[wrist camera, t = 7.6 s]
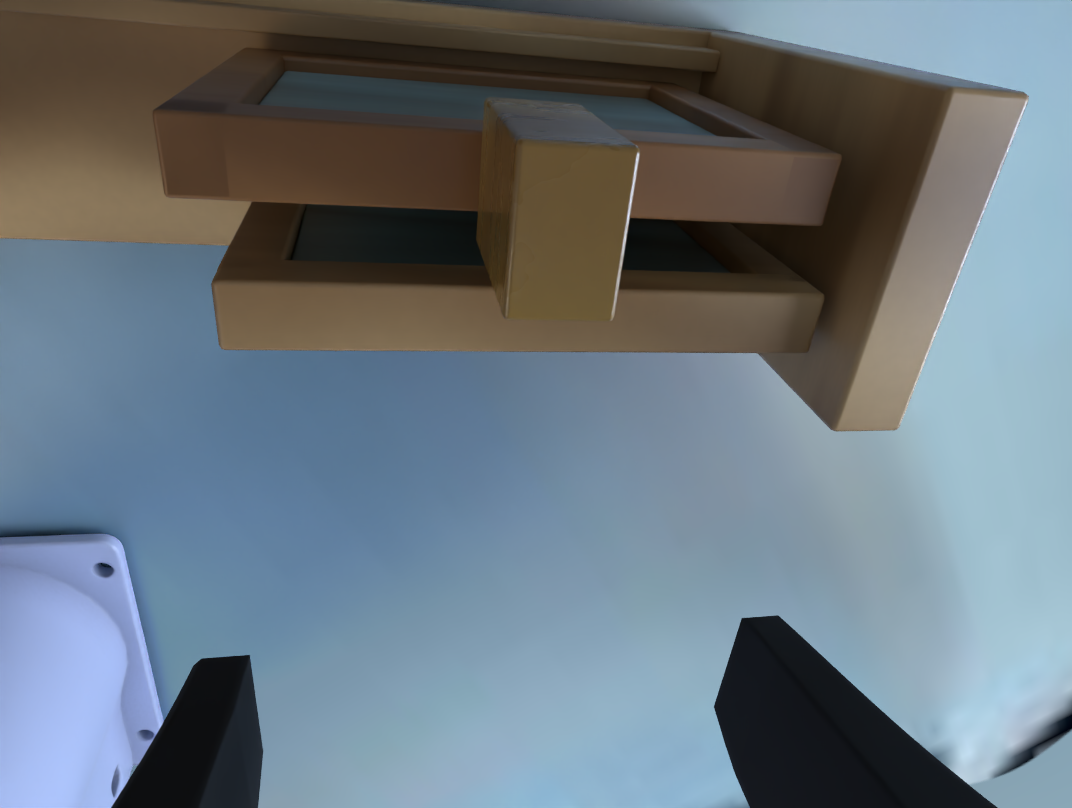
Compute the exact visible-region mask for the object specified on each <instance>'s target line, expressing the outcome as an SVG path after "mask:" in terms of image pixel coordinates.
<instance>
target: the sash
mask: <svg viewBox="0 0 1072 808" xmlns="http://www.w3.org/2000/svg"><path fill="white" fill-rule="evenodd" d="M152 116H153V123H154V129H155V136H156V143H157V149H158V156H159V163H160V169H161V176H162V183H163V189H164V194H165V195H166V197H169V198H181V199H204V200H227V201H249V202H272V203H295V204H318V205H341V206H364V207H387V208H410V209H432V210H455V211H478V218H477V236H476V240H477V243H478V246H479V249H480V252H481V255H482V258H483V260H484V263H485V266H486V269H487V272H488V275H489V278H490V280H491V283H492V286H493V289H494V292H495V295H496V298H497V301H498V303H499V306H500V309H501V312H502V315H503V318H505V319H507V320H550V321H611V320H613V318H614V315H615V309H616V303H617V296H618V290H619V284H620V277H621V271H622V265H623V259H624V252H625V246H626V240H627V233H628V227H629V221H630V218H638V219H661V220H684V221H707V222H730V223H753V224H776V225H799V226H822V224H823V222H824V219H825V215H826V212H827V209H828V205H829V202H830V198H831V195H832V191H833V188H834V184H835V181H836V177H837V174H838V171H839V167H840V164H841V160H842V156H841V155H840V154H839V153H837V152H834V151H832V150H829V149H827V148H825V147H822V146H820V145H818V144H815V143H812V142H810V141H808V140H805V139H803V138H801V137H798V136H796V135H794V134H791V133H789V132H787V131H784V130H782V129H780V128H777V127H775V126H773V125H770V124H768V123H766V122H763V121H761V120H759V119H756V118H754V117H752V116H749V115H747V114H745V113H742V112H740V111H738V110H735V109H733V108H730V107H728V106H726V105H723V104H721V103H719V102H716V101H714V100H712V99H709V98H707V97H705V96H702V95H700V94H698V93H695V92H693V91H691V90H688V89H686V88H684V87H681V86H679V85H677V84H674V83H668V82H656V81H644V80H631V79H619V78H606V77H594V76H582V75H570V74H558V73H546V72H534V71H522V70H510V69H498V68H486V67H474V66H462V65H450V64H438V63H426V62H414V61H401V60H389V59H377V58H365V57H353V56H341V55H329V54H317V53H305V52H293V51H283V50H271V49H259V48H247V47H246V48H243V49H242V50H240V51H239V52H237V53H236V54H235V55H233V56H232V57H230V58H229V59H227V60H226V61H224V62H223V63H221V64H220V65H218V66H217V67H216V68H214V69H213V70H211V71H210V72H208V73H207V74H205V75H204V76H202V77H201V78H199V79H198V80H197V81H195V82H194V83H192V84H191V85H189V86H188V87H186V88H185V89H183V90H182V91H180V92H179V93H178V94H176V95H175V96H173V97H172V98H170V99H169V100H167V101H166V102H164V103H163V104H161V105H160V106H158V107H157V108H155V109H154V110H153V113H152Z"/></svg>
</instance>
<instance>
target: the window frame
mask: <svg viewBox="0 0 1072 808" xmlns="http://www.w3.org/2000/svg"><path fill="white" fill-rule="evenodd" d="M246 47H247V48H259V49H271V50H283V51H293V52H305V53H317V54H329V55H341V56H353V57H365V58H377V59H389V60H401V61H414V62H426V63H438V64H450V65H462V66H474V67H486V68H498V69H510V70H522V71H534V72H546V73H558V74H570V75H582V76H594V77H606V78H619V79H631V80H644V81H656V82H668V83H674V84H677V85H679V86H681V87H684V88H686V89H688V90H691V91H693V92H695V93H698V94H700V95H702V96H705V97H707V98H709V99H712V100H714V101H716V102H719V103H721V104H723V105H726V106H728V107H730V108H733V109H735V110H738V111H740V112H742V113H745V114H747V115H749V116H752V117H754V118H756V119H759V120H761V121H763V122H766V123H768V124H770V125H773V126H775V127H777V128H780V129H782V130H784V131H787V132H789V133H791V134H794V135H796V136H798V137H801V138H803V139H805V140H808V141H810V142H812V143H815V144H818V145H820V146H822V147H825V148H827V149H829V150H832V151H834V152H837V153H839V154H840V155H841V156H842V160H841V164H840V167H839V171H838V174H837V177H836V181H835V184H834V188H833V191H832V195H831V198H830V202H829V205H828V209H827V212H826V215H825V219H824V222H823V224H822V226H799V225H776V224H753V223H730V222H707V221H684V220H661V219H638V218H630V221H629V227H628V233H627V240H626V246H625V252H624V259H623V265H622V271H621V277H620V284H619V290H618V296H617V303H616V309H615V315H614V318H613V320H611V321H550V320H507V319H505V318H503V315H502V312H501V309H500V306H499V303H498V301H497V298H496V295H495V292H494V289H493V286H492V283H491V280H490V278H489V275H488V272H487V269H486V266H485V263H484V260H483V258H482V255H481V252H480V249H479V246H478V243H477V240H476V236H477V218H478V211H455V210H432V209H410V208H387V207H364V206H341V205H318V204H295V203H272V202H249V201H227V200H204V199H181V198H169V197H166V195H165V194H164V189H163V183H162V176H161V169H160V163H159V156H158V149H157V143H156V136H155V129H154V123H153V116H152V113H153V110H154V109H155V108H157V107H158V106H160V105H161V104H163V103H164V102H166V101H167V100H169V99H170V98H172V97H173V96H175V95H176V94H178V93H179V92H180V91H182V90H183V89H185V88H186V87H188V86H189V85H191V84H192V83H194V82H195V81H197V80H198V79H199V78H201V77H202V76H204V75H205V74H207V73H208V72H210V71H211V70H213V69H214V68H216V67H217V66H218V65H220V64H221V63H223V62H224V61H226V60H227V59H229V58H230V57H232V56H233V55H235V54H236V53H237V52H239V51H240V50H242V49H243V48H246ZM1028 97H1029V96H1028V95H1027V94H1025V93H1024V92H1021V91H1016V90H1011V89H1007V88H1002V87H997V86H992V85H987V84H983V83H978V82H973V81H968V80H964V79H959V78H954V77H949V76H944V75H940V74H935V73H930V72H925V71H921V70H916V69H911V68H906V67H901V66H897V65H892V64H887V63H882V62H878V61H873V60H868V59H863V58H859V57H854V56H849V55H844V54H839V53H835V52H830V51H825V50H820V49H816V48H811V47H806V46H801V45H796V44H792V43H787V42H782V41H777V40H773V39H768V38H763V37H758V36H754V35H749V34H744V33H739V32H731V31H721V30H711V29H701V28H691V27H681V26H671V25H661V24H651V23H640V22H630V21H620V20H610V19H600V18H590V17H580V16H570V15H560V14H550V13H540V12H530V11H520V10H510V9H500V8H489V7H479V6H469V5H459V4H449V3H439V2H429V1H419V0H0V238H11V239H42V240H73V241H104V242H135V243H166V244H197V245H228V246H229V247H228V249H227V251H226V253H225V255H224V257H223V259H222V261H221V263H220V265H219V267H218V269H217V273H216V274H215V276H214V278H213V281H212V283H211V286H212V294H213V302H214V310H215V317H216V325H217V333H218V341H219V345H220V347H221V349H224V350H329V351H503V352H676V353H758V354H759V355H760V356H761V357H762V358H763V359H764V360H765V361H766V362H767V364H768V365H769V366H770V367H771V368H772V369H773V370H774V371H775V372H776V373H777V374H778V375H779V376H780V377H781V378H782V379H783V380H784V381H785V382H786V383H787V384H788V385H789V386H790V388H791V389H792V390H793V391H794V392H795V393H796V394H797V395H798V396H799V397H800V398H801V399H802V400H803V401H804V402H805V403H806V404H807V405H808V406H809V407H810V408H811V409H812V410H813V411H814V413H815V414H816V415H817V416H818V417H819V418H820V419H821V420H822V421H823V422H824V423H825V424H826V425H827V426H828V427H829V428H830V429H831V430H833V431H884V430H897V429H898V428H899V427H900V424H901V422H902V419H903V417H904V414H905V411H906V409H907V406H908V404H909V401H910V399H911V396H912V394H913V391H914V389H915V386H916V384H917V381H918V379H919V376H920V373H921V371H922V368H923V366H924V363H925V361H926V358H927V356H928V353H929V351H930V348H931V346H932V343H933V341H934V338H935V336H936V333H937V330H938V328H939V325H940V323H941V320H942V318H943V315H944V313H945V310H946V308H947V305H948V303H949V300H950V298H951V295H952V292H953V290H954V287H955V285H956V282H957V280H958V277H959V275H960V272H961V270H962V267H963V265H964V262H965V260H966V257H967V255H968V252H969V249H970V247H971V244H972V242H973V239H974V237H975V234H976V232H977V229H978V227H979V224H980V222H981V219H982V217H983V214H984V211H985V209H986V206H987V204H988V201H989V199H990V196H991V194H992V191H993V189H994V186H995V184H996V181H997V179H998V176H999V174H1000V171H1001V168H1002V166H1003V163H1004V161H1005V158H1006V156H1007V153H1008V151H1009V148H1010V146H1011V143H1012V141H1013V138H1014V136H1015V133H1016V130H1017V128H1018V125H1019V123H1020V120H1021V118H1022V115H1023V113H1024V110H1025V108H1026V105H1027V103H1028Z"/></svg>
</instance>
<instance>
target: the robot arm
mask: <svg viewBox="0 0 1072 808" xmlns="http://www.w3.org/2000/svg"><path fill="white" fill-rule="evenodd" d="M98 563H106V564H108V565H110V566H112V567H110V568H108V567H103V566H101V565H99V564H98ZM714 708H715V712H716V715H717V718H718V722H719V725H720V728H721V732H722V735H723V738H724V741H725V745H726V748H727V751H728V754H729V757H730V760H731V763H732V766H733V769H734V772H735V774H736V777H737V779H738V781H739V784H740V786H741V788H742V791H743V793H744V795H745V797H746V800H747V802H748V804H749V806H750V808H997V807H996V806H995V805H993V804H992V803H991V802H990V801H988V800H987V799H986V798H984V797H983V796H982V795H981V794H979V793H978V792H977V791H976V790H974V789H973V788H972V787H971V786H969V785H968V784H967V783H966V782H965V781H963V780H962V779H961V778H960V777H958V776H957V775H956V774H955V773H954V772H952V771H951V770H950V769H949V768H947V767H946V766H945V765H944V764H943V763H941V762H940V761H939V760H938V759H936V758H935V757H934V756H933V755H932V754H931V753H929V752H928V751H927V750H926V749H925V748H923V747H922V746H921V745H920V744H919V743H918V742H916V741H915V740H914V739H913V738H912V737H911V736H910V735H908V734H907V733H906V732H905V731H904V730H903V729H902V728H900V727H899V726H898V725H897V724H896V723H895V722H894V721H892V720H891V719H890V718H889V717H888V716H887V715H886V714H885V713H884V712H882V711H881V710H880V709H879V708H878V707H877V706H876V705H875V704H874V703H872V702H871V701H870V700H869V699H868V698H867V697H866V696H865V695H864V694H863V693H861V692H860V691H859V690H858V689H857V688H856V687H855V686H854V685H853V684H852V683H851V682H850V681H848V680H847V679H846V678H845V677H844V676H843V675H842V674H841V673H840V672H839V671H838V670H837V669H836V668H834V667H833V666H832V665H831V664H830V663H829V662H828V661H827V660H826V659H825V658H824V657H823V656H822V655H821V654H819V653H818V652H817V651H816V650H815V649H814V648H813V647H812V646H811V645H810V644H809V643H808V642H807V641H806V640H804V639H803V638H802V637H801V636H800V635H799V634H798V633H797V632H796V631H795V630H794V629H793V628H791V627H790V626H789V625H788V624H787V623H786V622H785V621H784V620H783V619H781V618H780V617H779V616H766V617H752V618H742V620H741V623H740V626H739V629H738V632H737V635H736V639H735V642H734V645H733V648H732V651H731V654H730V658H729V661H728V664H727V667H726V670H725V673H724V677H723V680H722V683H721V686H720V689H719V692H718V696H717V699H716V702H715V705H714ZM262 758H263V748H262V741H261V733H260V726H259V719H258V712H257V705H256V698H255V690H254V683H253V676H252V669H251V662H250V655H244V656H231V657H217V658H204V659H201V660H199V661H198V662H197V663H196V664H195V665H194V666H193V668H192V670H191V672H190V674H189V676H188V678H187V680H186V682H185V684H184V686H183V687H182V689H181V691H180V693H179V695H178V697H177V699H176V701H175V702H174V704H173V706H172V708H171V710H170V711H169V713H168V715H167V717H166V719H165V720H163V716H162V712H161V708H160V703H159V699H158V695H157V690H156V686H155V682H154V677H153V673H152V669H151V664H150V660H149V656H148V651H147V647H146V643H145V638H144V634H143V630H142V626H141V621H140V617H139V613H138V608H137V604H136V600H135V595H134V591H133V587H132V582H131V578H130V574H129V569H128V565H127V561H126V556H125V552H124V548H123V545H122V543H121V542H120V541H119V540H118V539H117V538H116V537H114V536H111V535H108V534H75V535H49V536H24V537H0V808H258V800H259V790H260V779H261V768H262ZM133 765H138V766H137V768H136V769H135V771H134V772H133V774H132V775H131V777H130V779H129V776H130V773H131V770H132V766H133Z"/></svg>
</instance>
